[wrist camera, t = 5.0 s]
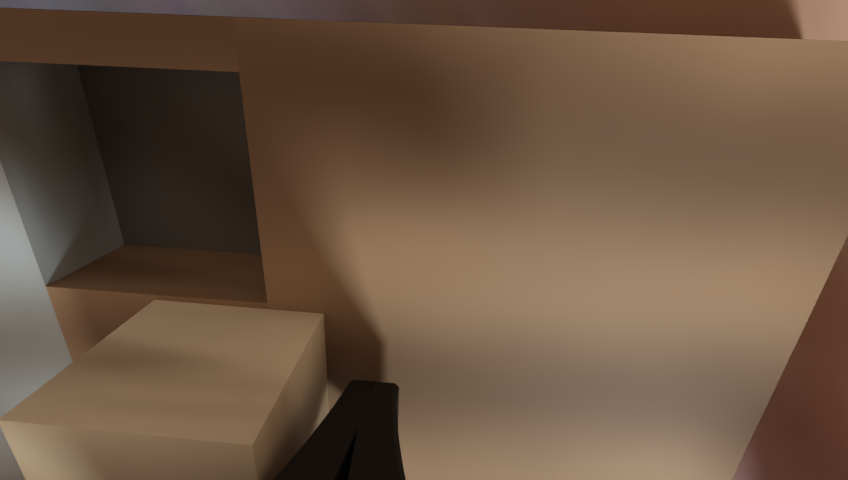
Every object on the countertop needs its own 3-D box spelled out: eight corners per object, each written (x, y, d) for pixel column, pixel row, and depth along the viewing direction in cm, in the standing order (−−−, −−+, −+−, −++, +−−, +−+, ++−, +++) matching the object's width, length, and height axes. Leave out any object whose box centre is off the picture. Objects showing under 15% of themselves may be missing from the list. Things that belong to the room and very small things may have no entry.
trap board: (632, 527, 17) (667, 615, 14) (-44, 459, 19) (-131, 526, 16) (807, 50, 10) (938, 44, 7) (-298, 6, 12) (-531, -13, 9)
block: (330, 441, 12) (276, 601, 9) (185, 427, 13) (72, 577, 9) (323, 313, 11) (251, 445, 7) (154, 299, 11) (-3, 419, 7)
